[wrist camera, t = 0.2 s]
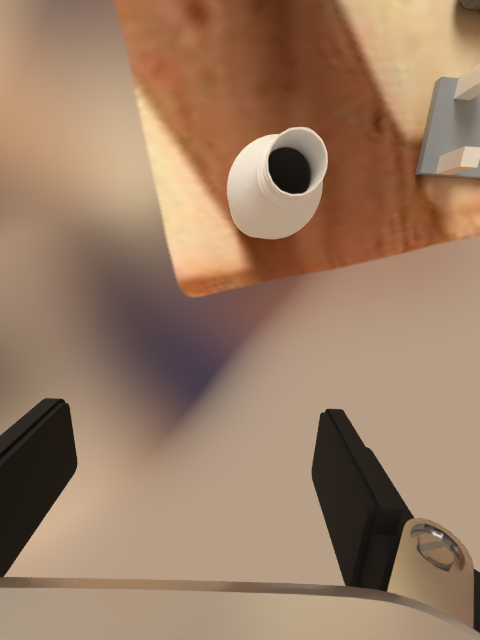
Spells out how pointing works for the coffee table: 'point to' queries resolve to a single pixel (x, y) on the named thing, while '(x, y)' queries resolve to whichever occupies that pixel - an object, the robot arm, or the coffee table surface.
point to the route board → (453, 129)
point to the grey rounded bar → (471, 4)
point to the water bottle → (277, 183)
